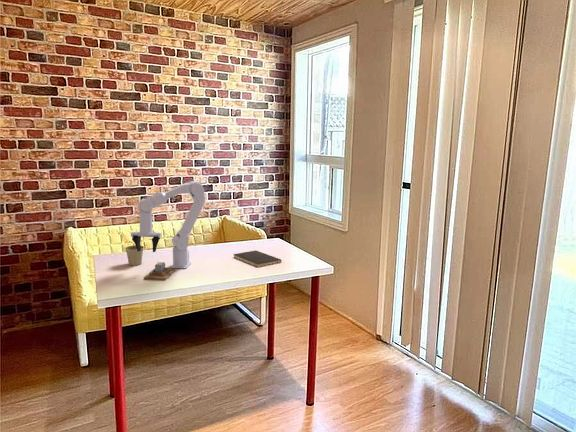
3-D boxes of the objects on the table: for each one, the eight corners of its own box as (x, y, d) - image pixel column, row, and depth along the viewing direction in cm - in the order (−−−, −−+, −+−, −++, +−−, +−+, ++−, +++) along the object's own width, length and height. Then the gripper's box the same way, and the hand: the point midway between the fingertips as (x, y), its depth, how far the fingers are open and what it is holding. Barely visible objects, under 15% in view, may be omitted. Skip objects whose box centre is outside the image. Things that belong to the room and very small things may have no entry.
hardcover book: (257, 268, 212) (257, 263, 212) (233, 258, 229) (233, 254, 229) (281, 263, 222) (281, 259, 222) (256, 254, 240) (256, 250, 239)
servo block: (159, 271, 198) (158, 260, 197) (165, 271, 198) (164, 260, 197) (155, 274, 193) (154, 263, 192) (161, 274, 193) (161, 263, 192)
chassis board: (155, 270, 203) (155, 265, 202) (175, 271, 202) (175, 266, 202) (144, 279, 189) (143, 274, 188) (165, 280, 188) (165, 275, 188)
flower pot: (130, 267, 206) (129, 250, 204) (122, 263, 212) (121, 247, 210) (148, 264, 212) (147, 247, 211) (139, 260, 219) (138, 244, 217)
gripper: (127, 225, 195) (128, 252, 198) (157, 226, 195) (158, 254, 197) (133, 222, 202) (134, 249, 205) (162, 223, 201) (163, 250, 204)
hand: (146, 251), depth 201 cm, fingers open, 7 cm apart
